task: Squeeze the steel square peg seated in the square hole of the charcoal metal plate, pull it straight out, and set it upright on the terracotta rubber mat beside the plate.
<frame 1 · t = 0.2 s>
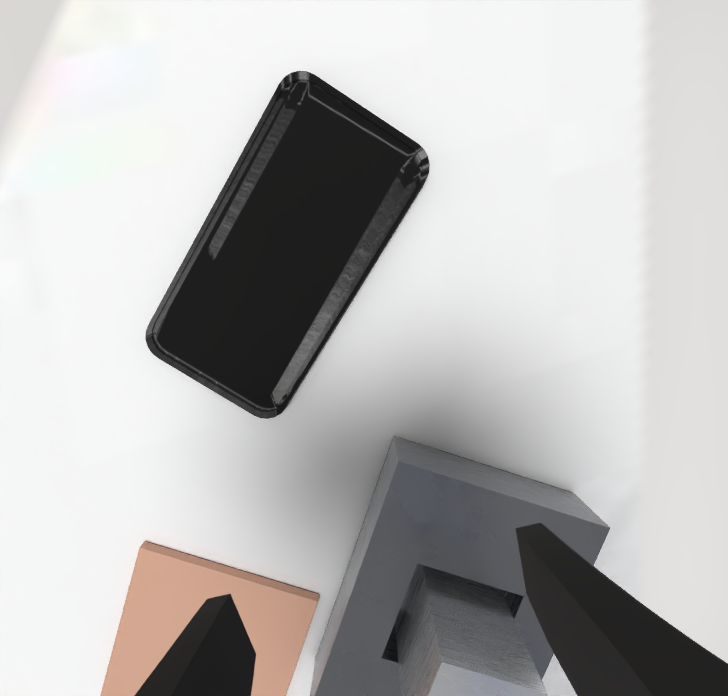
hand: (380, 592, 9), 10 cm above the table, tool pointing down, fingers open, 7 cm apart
phone: (287, 257, 19), on the table
steel peg: (453, 636, 17), in the socket plate
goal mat: (209, 643, 21), on the table
socket plate: (439, 579, 20), on the table
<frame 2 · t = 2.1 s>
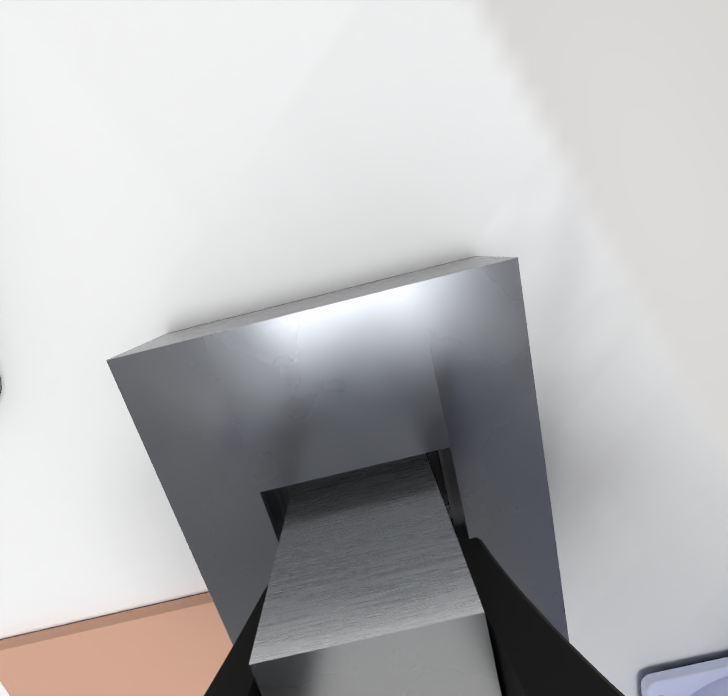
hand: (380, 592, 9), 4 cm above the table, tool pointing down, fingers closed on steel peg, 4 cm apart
steel peg: (378, 562, 10), in the socket plate, touching gripper
socket plate: (371, 484, 13), on the table
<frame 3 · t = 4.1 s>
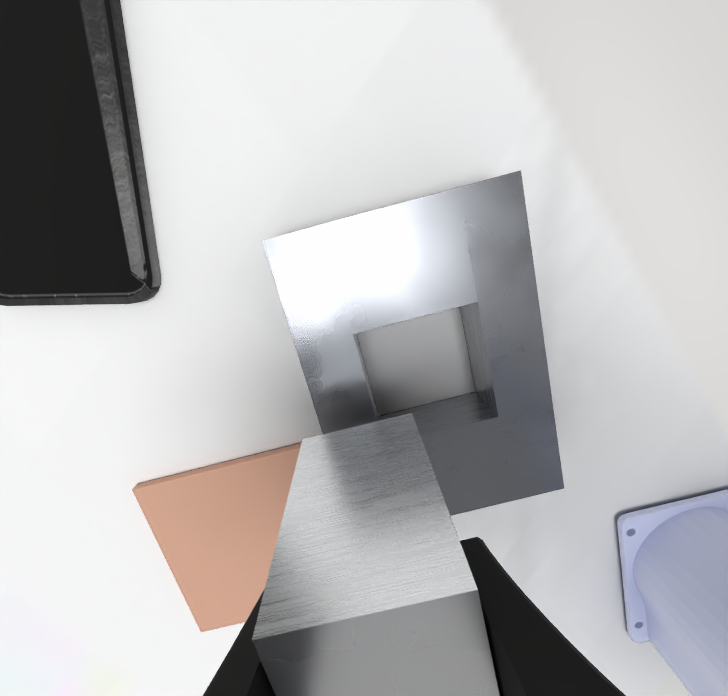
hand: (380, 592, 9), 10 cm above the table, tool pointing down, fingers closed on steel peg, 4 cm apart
phone: (52, 127, 16), on the table
steel peg: (376, 548, 10), point 9 cm above the table, touching gripper
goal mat: (257, 537, 21), on the table
socket plate: (416, 357, 18), on the table
when the fingers open (6 cm above the table, at t = 6.3 s): steel peg stays where it is, resting on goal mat.
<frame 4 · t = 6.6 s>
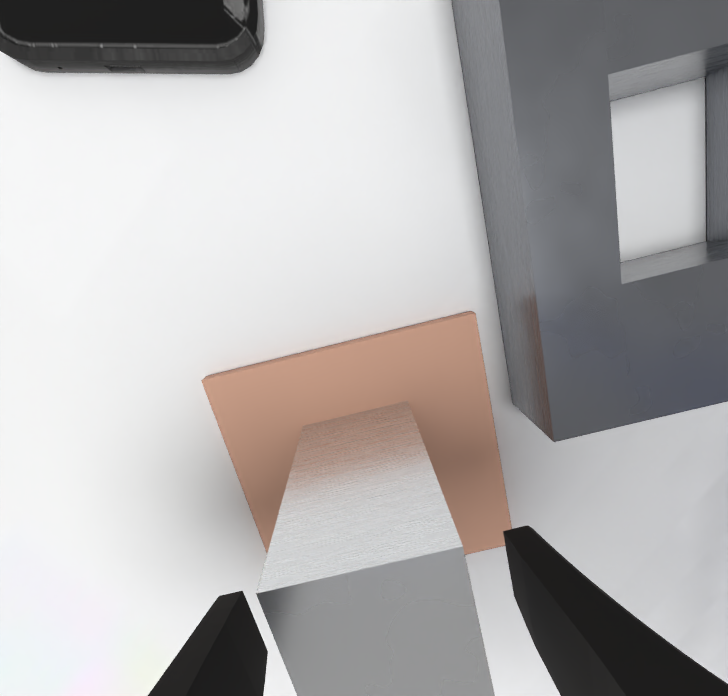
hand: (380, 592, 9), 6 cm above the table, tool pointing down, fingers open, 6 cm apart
steel peg: (372, 524, 11), on the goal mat
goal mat: (369, 461, 15), on the table
socket plate: (630, 182, 12), on the table
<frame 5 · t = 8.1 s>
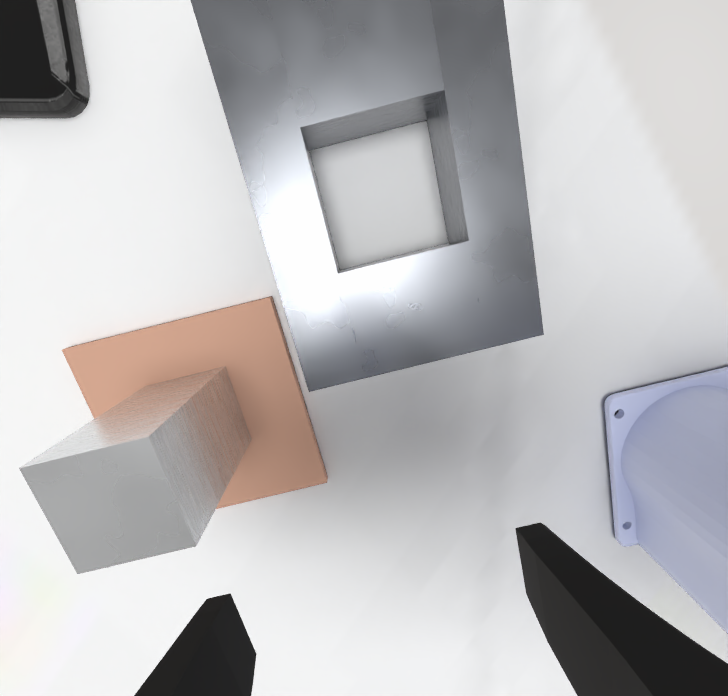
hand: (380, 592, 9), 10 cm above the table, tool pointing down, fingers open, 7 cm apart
steel peg: (165, 450, 15), on the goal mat
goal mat: (206, 415, 19), on the table
socket plate: (381, 198, 16), on the table
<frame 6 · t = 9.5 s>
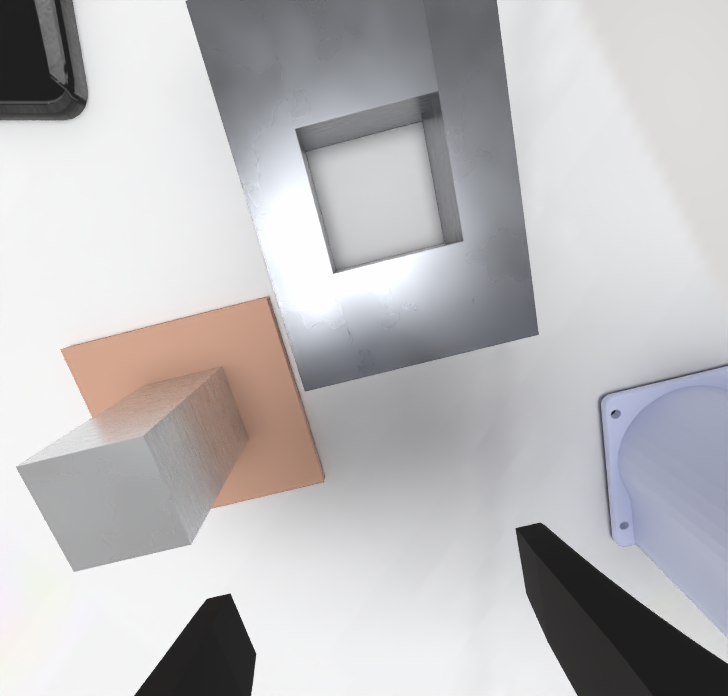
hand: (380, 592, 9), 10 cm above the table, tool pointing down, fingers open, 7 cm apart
steel peg: (162, 449, 15), on the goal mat
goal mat: (204, 415, 19), on the table
socket plate: (377, 198, 17), on the table
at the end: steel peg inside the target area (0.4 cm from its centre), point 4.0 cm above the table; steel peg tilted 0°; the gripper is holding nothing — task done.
